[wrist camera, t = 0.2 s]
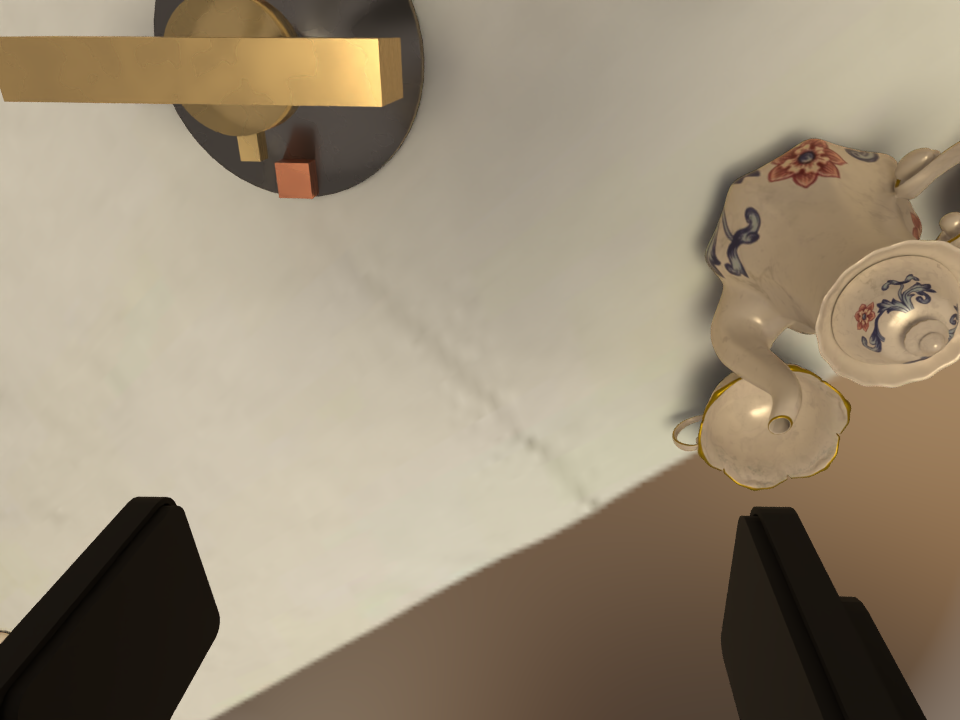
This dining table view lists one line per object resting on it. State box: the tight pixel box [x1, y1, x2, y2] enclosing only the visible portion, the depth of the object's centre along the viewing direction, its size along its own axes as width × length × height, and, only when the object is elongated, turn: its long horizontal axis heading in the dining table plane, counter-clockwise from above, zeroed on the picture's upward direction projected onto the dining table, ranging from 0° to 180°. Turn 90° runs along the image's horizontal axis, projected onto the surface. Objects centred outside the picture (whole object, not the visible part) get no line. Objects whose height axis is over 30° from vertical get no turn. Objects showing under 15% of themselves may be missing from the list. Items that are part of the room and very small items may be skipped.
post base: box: [154, 0, 424, 199], centre depth 34 cm, size 15×15×6 cm
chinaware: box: [672, 139, 960, 491], centre depth 32 cm, size 28×17×17 cm, turn 146°
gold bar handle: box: [0, 0, 403, 162], centre depth 28 cm, size 9×16×6 cm, turn 90°
